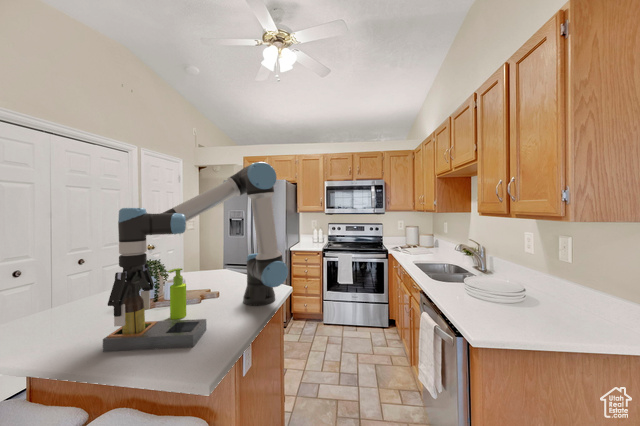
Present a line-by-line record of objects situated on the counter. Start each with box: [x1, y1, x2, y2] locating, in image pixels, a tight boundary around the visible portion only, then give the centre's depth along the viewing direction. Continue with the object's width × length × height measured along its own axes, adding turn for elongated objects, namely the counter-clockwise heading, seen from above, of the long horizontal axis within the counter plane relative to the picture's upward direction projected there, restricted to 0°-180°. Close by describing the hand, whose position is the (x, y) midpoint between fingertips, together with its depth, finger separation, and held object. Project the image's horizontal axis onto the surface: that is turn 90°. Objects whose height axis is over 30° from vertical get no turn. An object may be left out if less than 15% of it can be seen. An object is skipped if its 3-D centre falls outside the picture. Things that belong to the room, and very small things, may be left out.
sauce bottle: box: [121, 281, 146, 334], centre depth 86 cm, size 6×6×20 cm
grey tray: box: [102, 318, 207, 353], centre depth 87 cm, size 27×12×4 cm, turn 95°
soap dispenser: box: [167, 267, 187, 321], centre depth 105 cm, size 6×7×20 cm
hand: (133, 316), depth 86 cm, fingers open, 13 cm apart
